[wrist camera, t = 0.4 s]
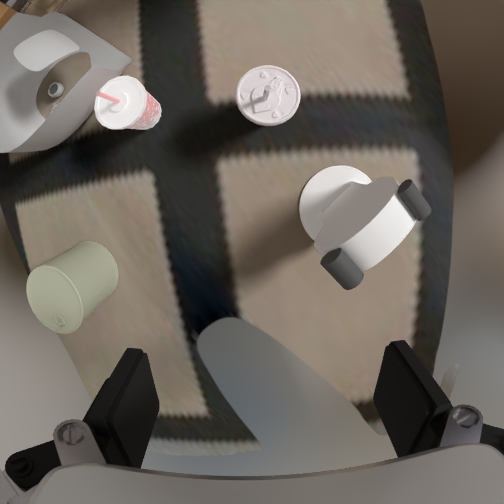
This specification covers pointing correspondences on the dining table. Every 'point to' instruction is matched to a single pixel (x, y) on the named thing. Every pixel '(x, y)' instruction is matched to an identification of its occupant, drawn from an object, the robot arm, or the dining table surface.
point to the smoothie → (267, 95)
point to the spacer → (5, 14)
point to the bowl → (34, 71)
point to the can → (72, 286)
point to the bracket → (43, 7)
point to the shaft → (16, 4)
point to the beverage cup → (126, 105)
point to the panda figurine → (357, 219)
